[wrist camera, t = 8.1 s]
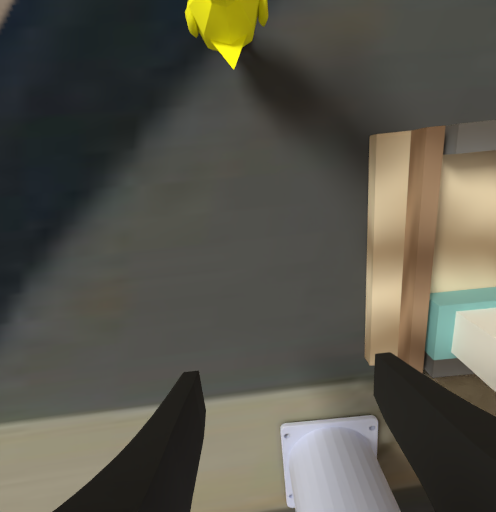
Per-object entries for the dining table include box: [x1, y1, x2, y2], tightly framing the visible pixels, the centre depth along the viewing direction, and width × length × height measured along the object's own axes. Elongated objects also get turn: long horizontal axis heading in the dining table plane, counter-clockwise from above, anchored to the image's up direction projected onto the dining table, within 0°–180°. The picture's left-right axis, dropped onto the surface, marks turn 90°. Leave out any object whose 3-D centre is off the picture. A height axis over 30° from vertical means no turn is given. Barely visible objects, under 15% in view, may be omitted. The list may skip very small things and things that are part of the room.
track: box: [365, 120, 496, 378], centre depth 19 cm, size 16×12×3 cm
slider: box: [425, 287, 496, 391], centre depth 18 cm, size 4×5×5 cm
